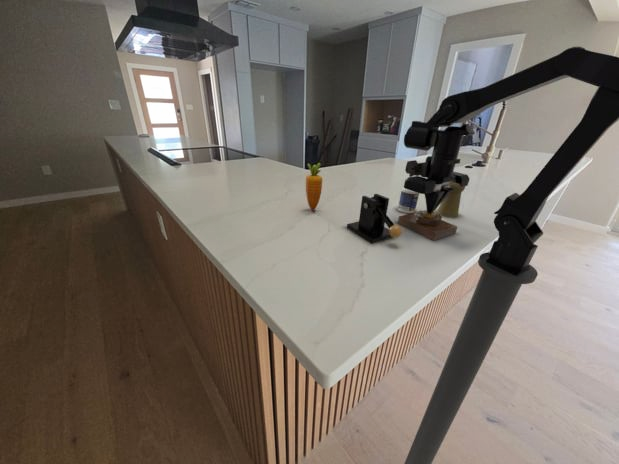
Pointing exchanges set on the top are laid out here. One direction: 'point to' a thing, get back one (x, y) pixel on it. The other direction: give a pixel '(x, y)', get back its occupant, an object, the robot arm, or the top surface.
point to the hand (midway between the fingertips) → (429, 212)
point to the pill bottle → (408, 201)
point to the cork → (451, 202)
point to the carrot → (313, 186)
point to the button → (428, 214)
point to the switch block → (427, 225)
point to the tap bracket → (371, 220)
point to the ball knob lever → (387, 220)
